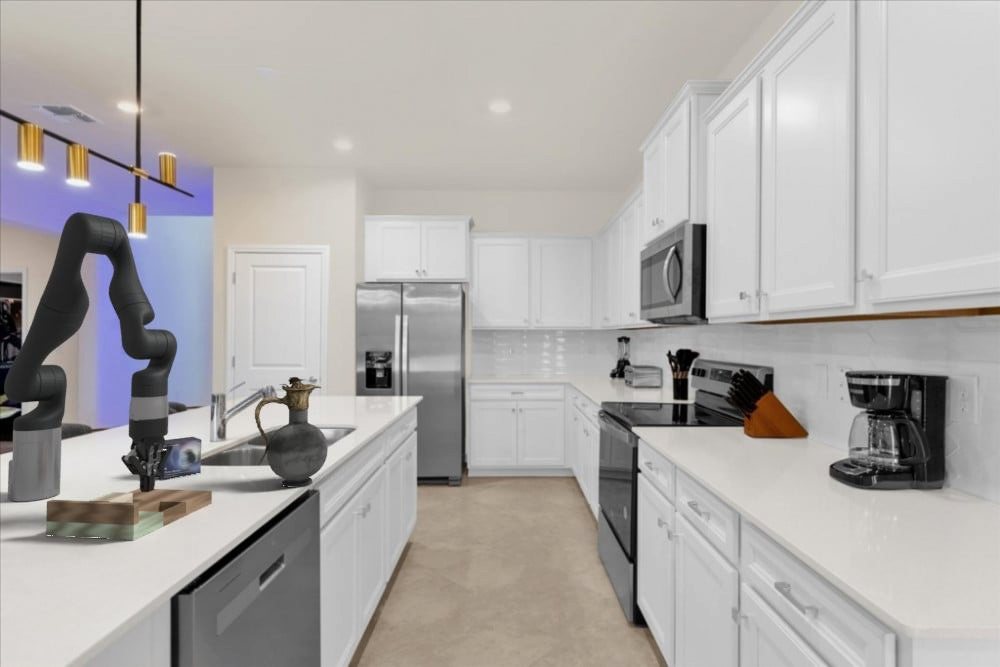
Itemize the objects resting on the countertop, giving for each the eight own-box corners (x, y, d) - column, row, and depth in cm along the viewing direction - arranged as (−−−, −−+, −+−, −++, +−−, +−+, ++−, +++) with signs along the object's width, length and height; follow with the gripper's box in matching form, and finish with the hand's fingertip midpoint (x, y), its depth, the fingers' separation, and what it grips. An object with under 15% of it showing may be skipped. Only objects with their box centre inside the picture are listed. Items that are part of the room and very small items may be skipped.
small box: (162, 480, 147) (162, 443, 147) (153, 477, 151) (153, 441, 151) (201, 473, 155) (202, 438, 156) (192, 470, 159) (192, 436, 160)
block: (88, 520, 106) (88, 500, 106) (112, 510, 112) (113, 492, 112) (108, 521, 105) (109, 501, 105) (132, 511, 111) (132, 492, 111)
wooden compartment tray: (45, 536, 105) (46, 501, 105) (139, 500, 129) (139, 472, 129) (133, 540, 103) (134, 504, 103) (211, 503, 127) (212, 474, 127)
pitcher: (331, 484, 145) (333, 376, 145) (257, 495, 134) (259, 378, 134) (320, 475, 154) (321, 374, 154) (249, 485, 143) (251, 376, 143)
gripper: (155, 411, 126) (153, 482, 126) (109, 419, 113) (107, 499, 113) (184, 412, 126) (182, 484, 125) (141, 420, 113) (139, 500, 112)
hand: (147, 491), depth 119 cm, fingers closed
